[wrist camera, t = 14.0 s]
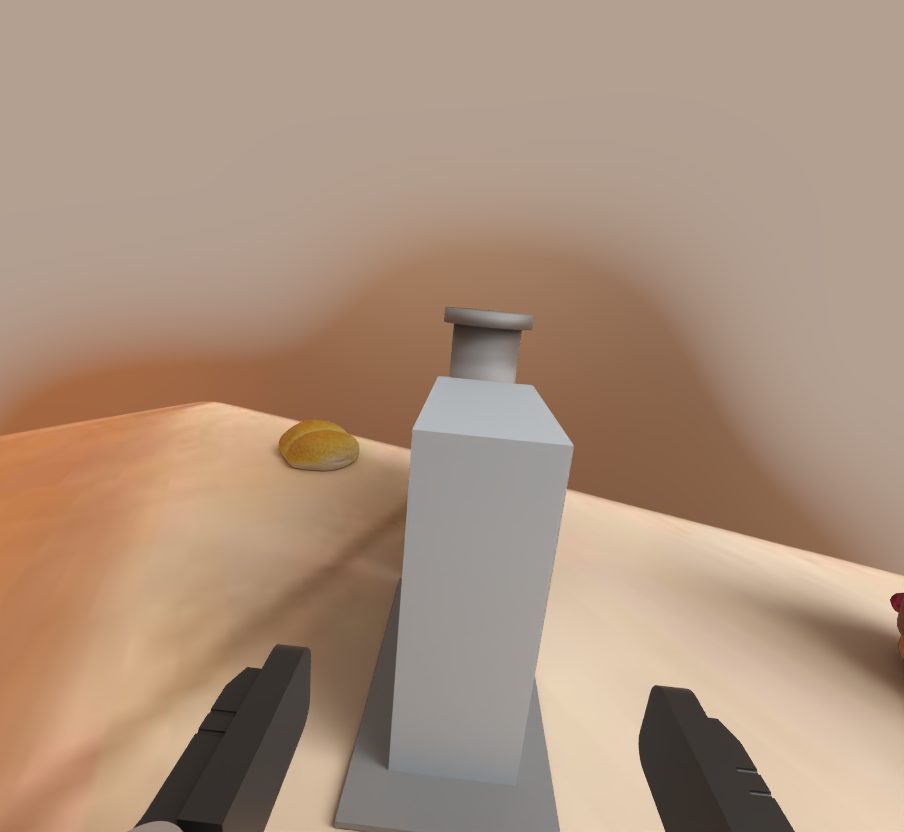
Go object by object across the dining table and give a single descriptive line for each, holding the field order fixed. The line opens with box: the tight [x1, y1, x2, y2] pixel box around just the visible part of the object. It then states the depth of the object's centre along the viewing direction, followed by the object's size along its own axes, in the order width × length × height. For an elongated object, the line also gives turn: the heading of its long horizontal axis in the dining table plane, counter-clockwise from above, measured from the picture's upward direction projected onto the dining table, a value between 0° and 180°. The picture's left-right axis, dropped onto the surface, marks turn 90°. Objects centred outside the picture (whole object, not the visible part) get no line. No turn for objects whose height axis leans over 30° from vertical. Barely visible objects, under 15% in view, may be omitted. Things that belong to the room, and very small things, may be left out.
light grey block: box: [388, 376, 574, 786], centre depth 20 cm, size 5×10×14 cm, turn 177°
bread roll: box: [279, 420, 359, 471], centre depth 49 cm, size 8×9×4 cm
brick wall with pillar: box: [444, 307, 534, 384], centre depth 33 cm, size 16×6×18 cm, turn 177°
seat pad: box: [335, 578, 560, 832], centre depth 22 cm, size 14×8×1 cm, turn 177°
